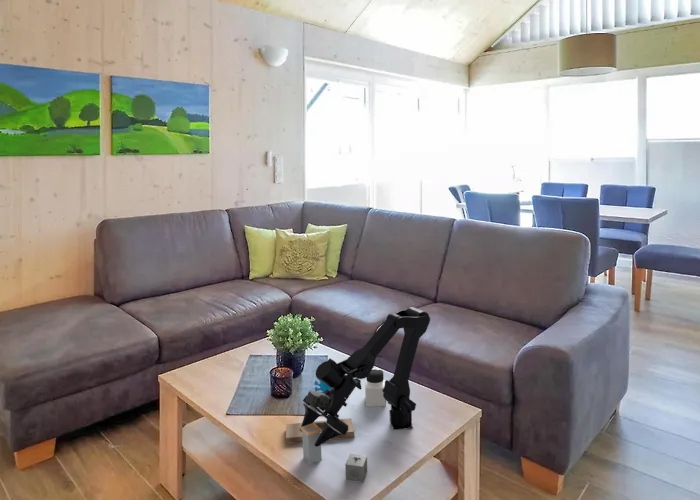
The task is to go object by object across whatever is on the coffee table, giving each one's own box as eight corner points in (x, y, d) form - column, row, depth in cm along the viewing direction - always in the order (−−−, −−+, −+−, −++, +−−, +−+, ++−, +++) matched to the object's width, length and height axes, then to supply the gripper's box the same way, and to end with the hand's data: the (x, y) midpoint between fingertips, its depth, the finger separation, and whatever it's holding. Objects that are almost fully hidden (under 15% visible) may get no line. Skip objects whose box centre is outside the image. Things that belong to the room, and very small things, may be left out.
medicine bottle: (386, 406, 185) (385, 375, 182) (365, 407, 185) (364, 375, 182) (385, 396, 192) (384, 366, 189) (365, 397, 192) (364, 366, 189)
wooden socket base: (351, 423, 175) (351, 418, 174) (354, 437, 167) (354, 431, 166) (286, 429, 172) (286, 424, 172) (286, 443, 165) (285, 438, 164)
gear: (311, 395, 191) (317, 368, 196) (312, 399, 196) (318, 374, 201) (340, 400, 190) (346, 374, 195) (341, 405, 195) (347, 379, 200)
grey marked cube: (367, 471, 150) (366, 455, 149) (363, 482, 145) (362, 466, 144) (350, 469, 151) (349, 453, 150) (345, 480, 147) (345, 464, 145)
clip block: (315, 452, 160) (314, 422, 157) (322, 459, 156) (321, 429, 154) (302, 457, 157) (300, 427, 155) (309, 464, 154) (307, 434, 152)
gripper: (307, 369, 161) (276, 413, 158) (338, 394, 146) (304, 442, 143) (330, 386, 167) (300, 428, 164) (362, 411, 152) (330, 458, 148)
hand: (308, 438), depth 155 cm, fingers open, 9 cm apart
